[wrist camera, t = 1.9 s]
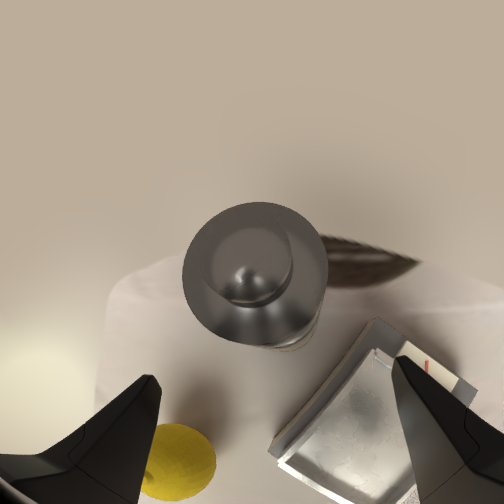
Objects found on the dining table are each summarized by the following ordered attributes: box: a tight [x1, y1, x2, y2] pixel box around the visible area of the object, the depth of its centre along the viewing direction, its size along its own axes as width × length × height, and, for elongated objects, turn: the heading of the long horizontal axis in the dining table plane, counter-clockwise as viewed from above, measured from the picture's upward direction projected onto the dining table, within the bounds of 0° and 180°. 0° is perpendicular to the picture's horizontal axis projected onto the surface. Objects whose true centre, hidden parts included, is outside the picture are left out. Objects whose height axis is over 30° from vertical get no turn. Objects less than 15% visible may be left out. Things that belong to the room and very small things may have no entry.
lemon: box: [141, 424, 216, 501], centre depth 14 cm, size 6×6×8 cm
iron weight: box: [182, 202, 328, 352], centre depth 14 cm, size 4×4×14 cm
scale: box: [268, 317, 478, 504], centre depth 14 cm, size 10×11×5 cm
